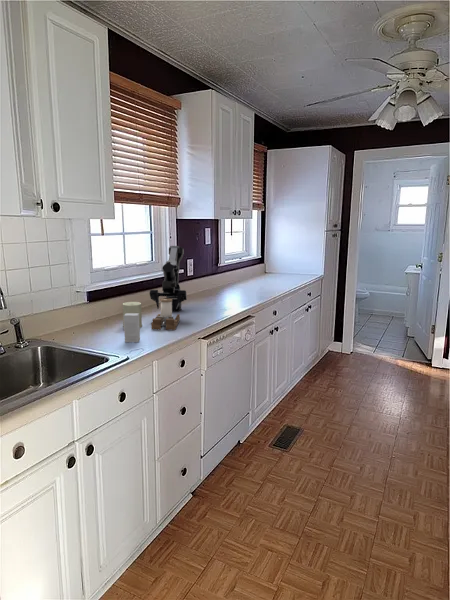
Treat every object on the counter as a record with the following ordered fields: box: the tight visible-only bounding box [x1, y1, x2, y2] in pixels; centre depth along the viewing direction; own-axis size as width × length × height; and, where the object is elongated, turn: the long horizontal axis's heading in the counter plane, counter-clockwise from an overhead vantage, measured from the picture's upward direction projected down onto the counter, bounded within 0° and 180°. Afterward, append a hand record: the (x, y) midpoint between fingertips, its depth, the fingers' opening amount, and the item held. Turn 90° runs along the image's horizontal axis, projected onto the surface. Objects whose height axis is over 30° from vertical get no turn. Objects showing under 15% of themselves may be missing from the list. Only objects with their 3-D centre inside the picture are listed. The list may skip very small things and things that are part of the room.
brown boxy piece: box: [150, 313, 181, 331], centre depth 209 cm, size 20×11×5 cm, turn 0°
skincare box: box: [123, 313, 141, 343], centre depth 180 cm, size 6×4×12 cm
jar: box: [159, 297, 173, 317], centre depth 209 cm, size 6×6×13 cm
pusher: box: [156, 315, 174, 327], centre depth 203 cm, size 8×8×4 cm
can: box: [122, 301, 143, 328], centre depth 204 cm, size 9×9×12 cm
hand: (166, 308), depth 211 cm, fingers open, 9 cm apart
